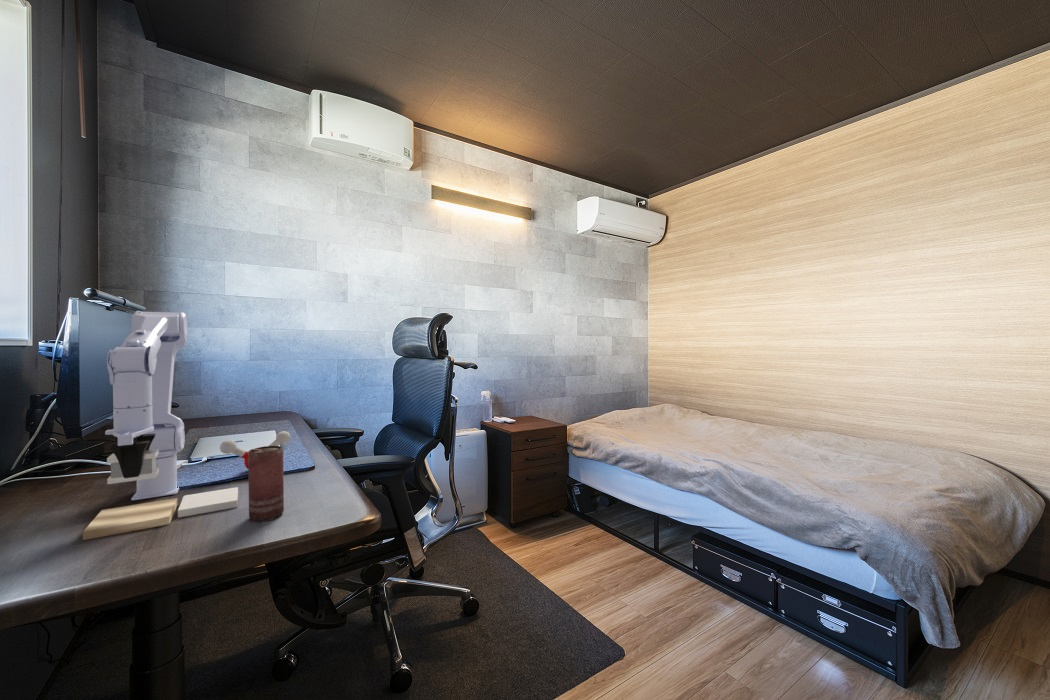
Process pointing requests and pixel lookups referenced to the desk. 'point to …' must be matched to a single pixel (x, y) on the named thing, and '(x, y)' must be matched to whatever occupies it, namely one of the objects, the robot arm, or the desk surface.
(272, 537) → the desk surface
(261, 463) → the can
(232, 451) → the molecular model
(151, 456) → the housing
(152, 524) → the stand
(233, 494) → the stand
